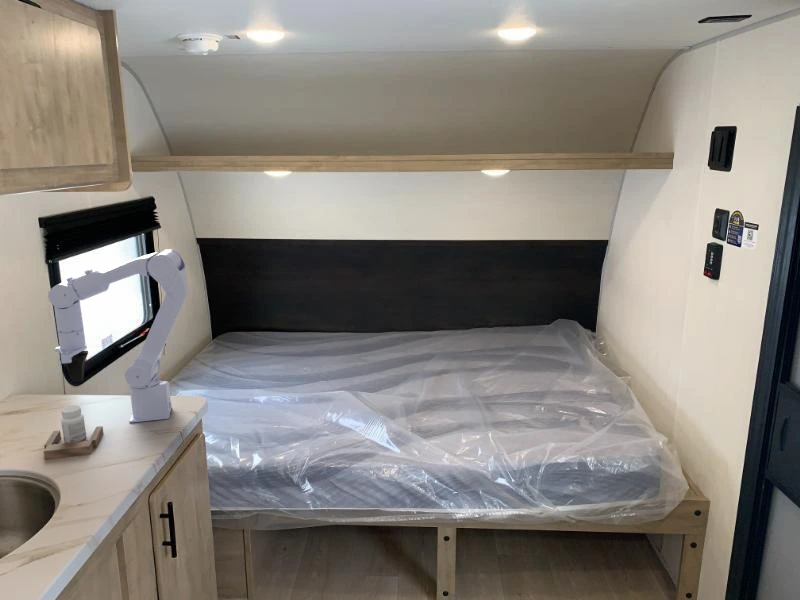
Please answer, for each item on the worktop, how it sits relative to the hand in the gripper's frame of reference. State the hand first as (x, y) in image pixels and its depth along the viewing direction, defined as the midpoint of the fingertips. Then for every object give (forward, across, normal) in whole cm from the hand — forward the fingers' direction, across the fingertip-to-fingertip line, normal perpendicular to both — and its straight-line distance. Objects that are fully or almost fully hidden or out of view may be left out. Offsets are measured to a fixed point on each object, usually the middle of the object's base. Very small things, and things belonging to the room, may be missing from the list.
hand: (77, 381), depth 155 cm
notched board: (+10, +16, +2) cm, 19 cm away
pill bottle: (+11, +13, +1) cm, 17 cm away
